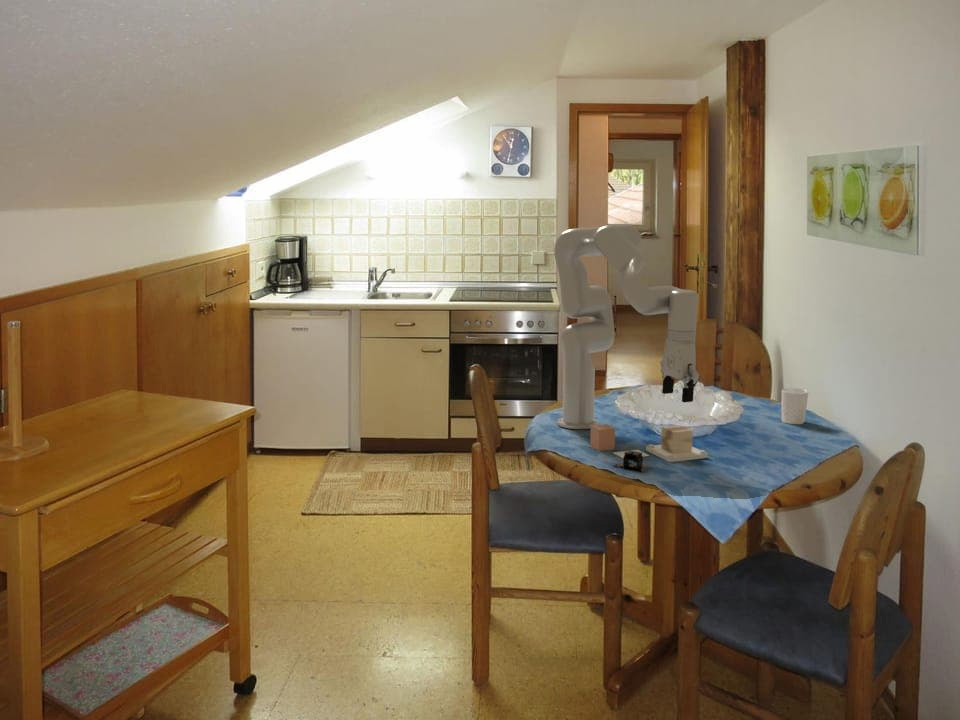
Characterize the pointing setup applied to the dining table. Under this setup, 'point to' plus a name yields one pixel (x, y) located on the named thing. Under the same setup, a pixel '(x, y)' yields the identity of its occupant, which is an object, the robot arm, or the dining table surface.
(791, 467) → the dining table surface
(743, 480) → the dining table surface
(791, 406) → the white cup
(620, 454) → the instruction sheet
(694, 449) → the plate
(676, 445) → the beech brick
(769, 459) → the dining table surface
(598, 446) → the terracotta brick
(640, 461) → the dark stepped block
